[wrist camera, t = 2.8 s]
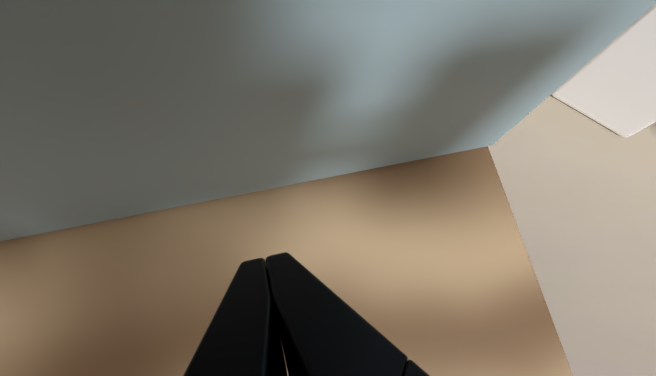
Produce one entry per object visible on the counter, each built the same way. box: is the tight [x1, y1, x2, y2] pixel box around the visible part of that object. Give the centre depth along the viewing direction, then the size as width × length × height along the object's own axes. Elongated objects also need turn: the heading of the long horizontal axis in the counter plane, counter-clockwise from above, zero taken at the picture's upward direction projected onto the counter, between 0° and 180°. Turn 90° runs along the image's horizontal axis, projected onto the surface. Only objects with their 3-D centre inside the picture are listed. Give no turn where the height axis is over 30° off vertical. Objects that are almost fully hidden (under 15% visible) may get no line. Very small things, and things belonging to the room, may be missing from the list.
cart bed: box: [0, 146, 573, 376], centre depth 16 cm, size 13×18×5 cm
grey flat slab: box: [0, 0, 656, 241], centre depth 10 cm, size 2×18×10 cm, turn 104°
